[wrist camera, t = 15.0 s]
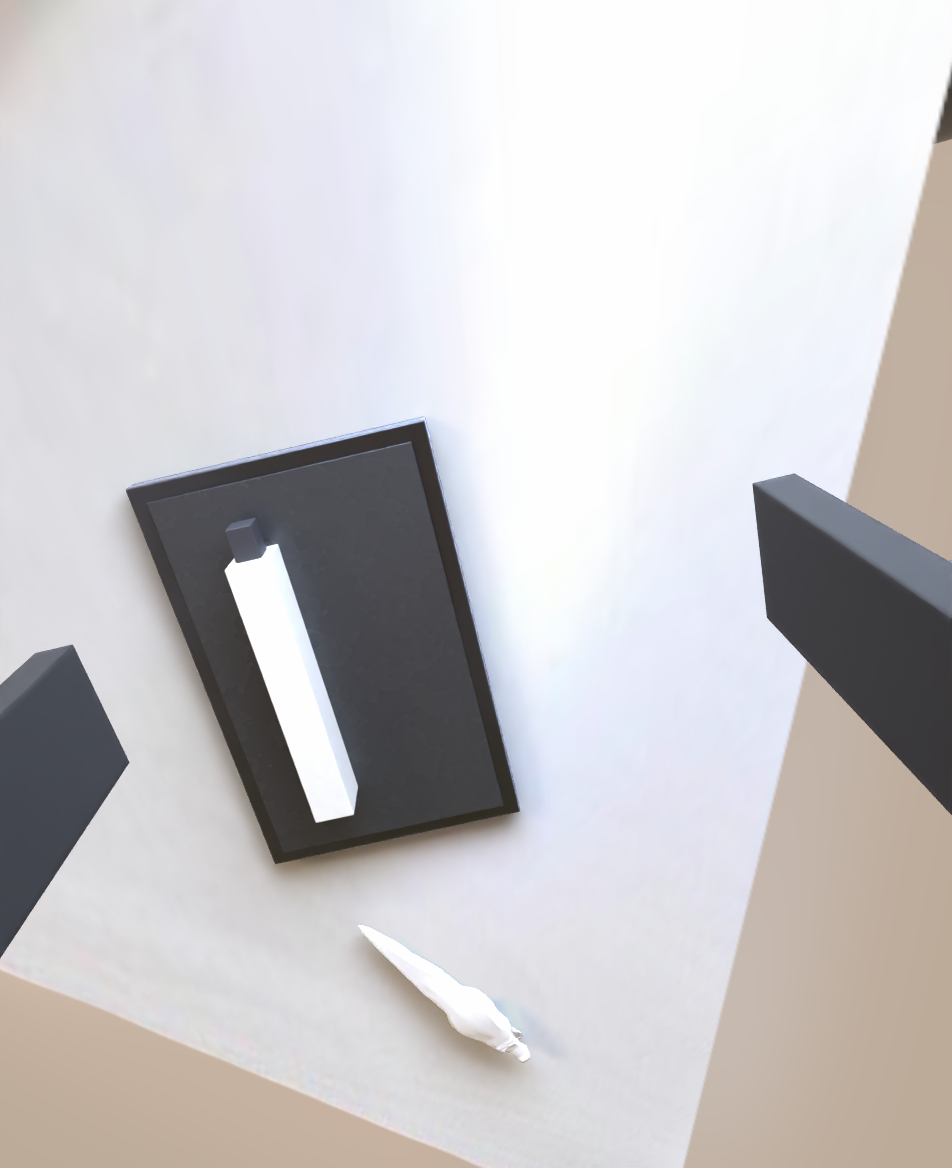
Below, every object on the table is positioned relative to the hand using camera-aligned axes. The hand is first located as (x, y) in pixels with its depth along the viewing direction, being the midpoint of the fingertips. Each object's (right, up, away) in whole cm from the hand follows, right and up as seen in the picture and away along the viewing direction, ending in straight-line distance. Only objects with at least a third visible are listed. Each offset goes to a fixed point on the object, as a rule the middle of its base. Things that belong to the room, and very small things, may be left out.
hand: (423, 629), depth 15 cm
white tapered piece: (-1, -24, +34) cm, 41 cm away
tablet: (-6, -3, +25) cm, 26 cm away
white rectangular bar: (-8, -4, +24) cm, 26 cm away
